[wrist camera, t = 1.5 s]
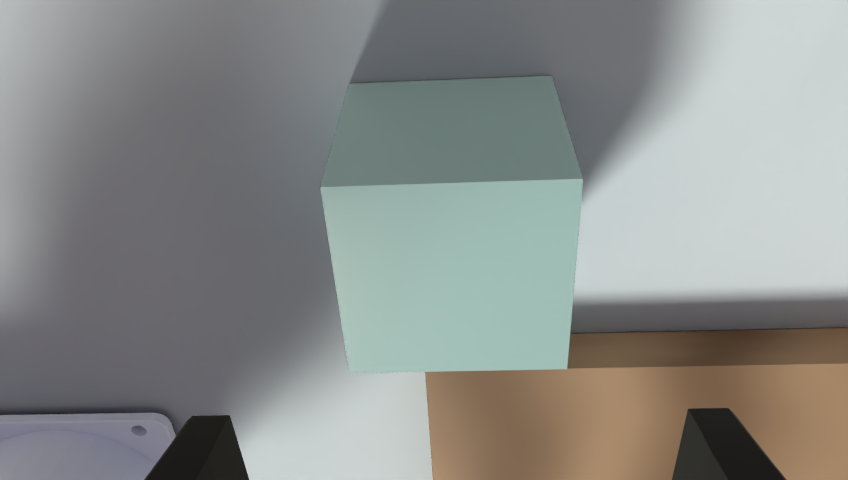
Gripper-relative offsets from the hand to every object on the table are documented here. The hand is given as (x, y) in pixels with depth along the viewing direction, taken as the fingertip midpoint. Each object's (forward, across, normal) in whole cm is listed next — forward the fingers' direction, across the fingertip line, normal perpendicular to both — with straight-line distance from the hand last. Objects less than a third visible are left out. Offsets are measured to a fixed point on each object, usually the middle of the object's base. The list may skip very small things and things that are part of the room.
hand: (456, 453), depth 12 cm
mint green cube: (+9, 0, 0) cm, 9 cm away
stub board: (+9, -7, +13) cm, 17 cm away
